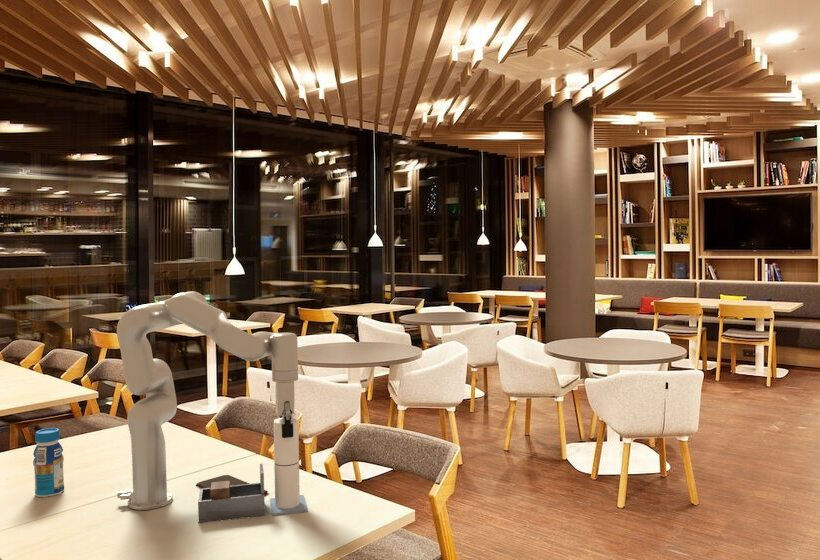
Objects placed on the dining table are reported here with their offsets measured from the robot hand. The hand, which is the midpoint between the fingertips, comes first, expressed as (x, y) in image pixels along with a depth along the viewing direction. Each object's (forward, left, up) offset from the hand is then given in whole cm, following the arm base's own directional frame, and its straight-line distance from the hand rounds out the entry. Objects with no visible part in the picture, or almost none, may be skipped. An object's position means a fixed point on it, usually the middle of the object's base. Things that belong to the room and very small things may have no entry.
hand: (286, 432), depth 193 cm
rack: (-16, 0, -22) cm, 27 cm away
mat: (0, 0, -22) cm, 22 cm away
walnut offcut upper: (-19, 0, -18) cm, 26 cm away
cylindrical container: (0, 0, -21) cm, 21 cm away
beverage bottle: (-72, +33, -22) cm, 82 cm away
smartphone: (-16, +19, -23) cm, 34 cm away
